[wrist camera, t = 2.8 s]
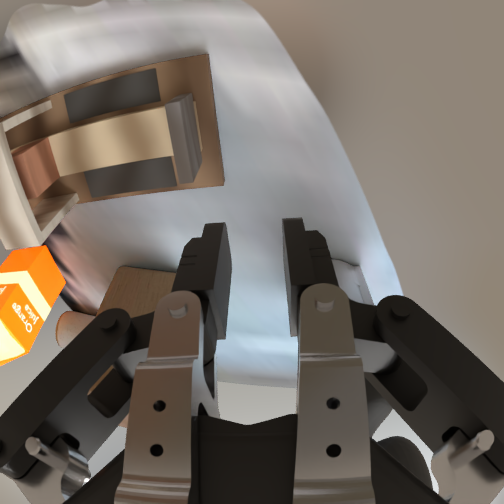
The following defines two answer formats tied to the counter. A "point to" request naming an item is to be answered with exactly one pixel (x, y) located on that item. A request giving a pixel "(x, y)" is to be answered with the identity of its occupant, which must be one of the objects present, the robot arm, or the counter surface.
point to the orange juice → (26, 298)
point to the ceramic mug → (71, 326)
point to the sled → (114, 145)
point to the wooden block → (135, 297)
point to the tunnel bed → (111, 177)
